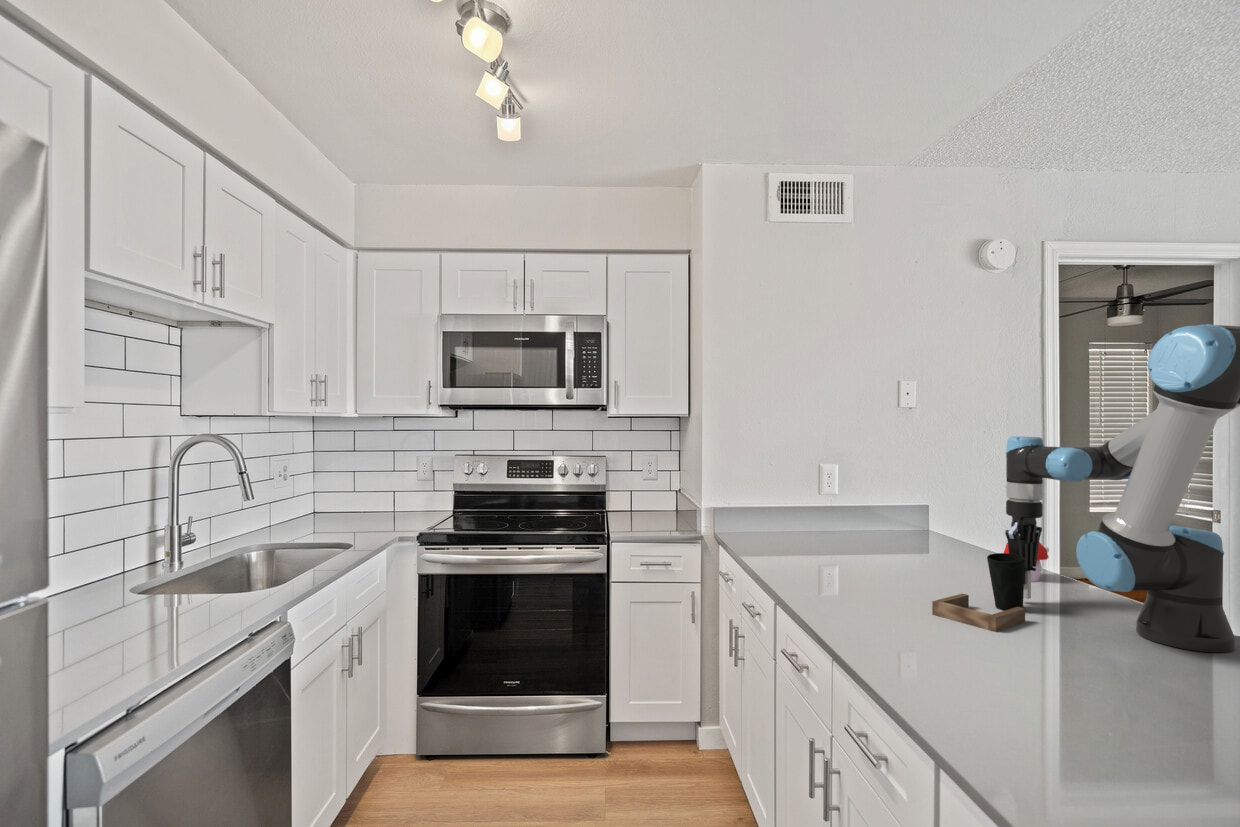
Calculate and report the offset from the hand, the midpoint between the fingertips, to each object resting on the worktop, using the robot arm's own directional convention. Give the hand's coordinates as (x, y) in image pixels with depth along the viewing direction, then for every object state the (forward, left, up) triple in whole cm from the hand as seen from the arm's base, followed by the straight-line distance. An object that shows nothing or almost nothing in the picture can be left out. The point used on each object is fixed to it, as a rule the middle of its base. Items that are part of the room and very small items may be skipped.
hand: (1023, 596), depth 156 cm
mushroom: (+12, -27, -2) cm, 29 cm away
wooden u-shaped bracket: (0, +20, -2) cm, 20 cm away
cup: (0, +7, -2) cm, 7 cm away
